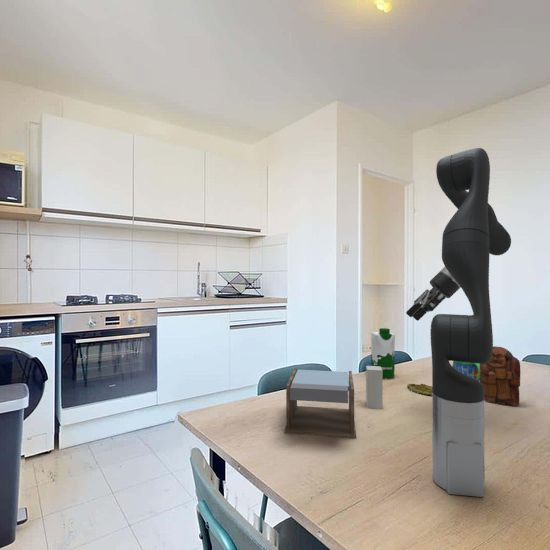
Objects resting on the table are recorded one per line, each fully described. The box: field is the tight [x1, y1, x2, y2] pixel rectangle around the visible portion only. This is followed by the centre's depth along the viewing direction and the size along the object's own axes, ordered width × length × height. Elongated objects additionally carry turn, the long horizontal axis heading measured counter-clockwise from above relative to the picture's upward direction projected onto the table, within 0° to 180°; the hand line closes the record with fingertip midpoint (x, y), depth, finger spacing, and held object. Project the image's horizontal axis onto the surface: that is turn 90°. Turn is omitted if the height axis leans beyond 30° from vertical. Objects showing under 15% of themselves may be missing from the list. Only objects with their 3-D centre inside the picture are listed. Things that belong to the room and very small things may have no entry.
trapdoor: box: [290, 369, 349, 404], centre depth 99 cm, size 22×15×3 cm
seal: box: [407, 383, 432, 398], centre depth 129 cm, size 9×5×15 cm
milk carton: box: [370, 327, 396, 379], centre depth 149 cm, size 9×9×20 cm
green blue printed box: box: [451, 361, 481, 382], centre depth 139 cm, size 16×10×10 cm
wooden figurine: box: [479, 345, 521, 407], centre depth 119 cm, size 12×6×18 cm, turn 52°
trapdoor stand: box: [284, 367, 357, 439], centre depth 102 cm, size 18×18×12 cm
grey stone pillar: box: [365, 365, 384, 410], centre depth 115 cm, size 5×5×12 cm
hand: (411, 316), depth 111 cm, fingers open, 8 cm apart
